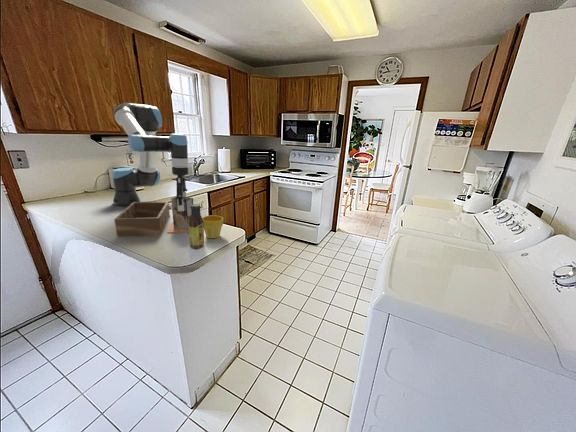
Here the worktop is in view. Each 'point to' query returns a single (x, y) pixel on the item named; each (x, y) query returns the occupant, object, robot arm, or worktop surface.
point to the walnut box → (142, 219)
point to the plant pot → (212, 225)
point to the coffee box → (182, 213)
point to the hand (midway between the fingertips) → (182, 206)
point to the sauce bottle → (196, 228)
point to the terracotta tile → (177, 229)
